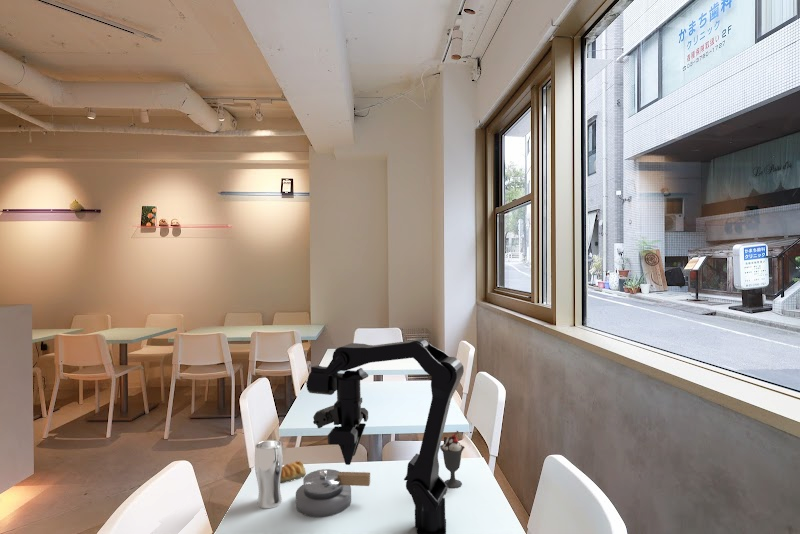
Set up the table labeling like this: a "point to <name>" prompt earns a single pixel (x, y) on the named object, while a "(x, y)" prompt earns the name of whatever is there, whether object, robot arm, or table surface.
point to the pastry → (292, 471)
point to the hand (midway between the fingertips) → (350, 460)
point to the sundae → (452, 458)
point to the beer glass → (268, 472)
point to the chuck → (332, 482)
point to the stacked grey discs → (323, 503)
